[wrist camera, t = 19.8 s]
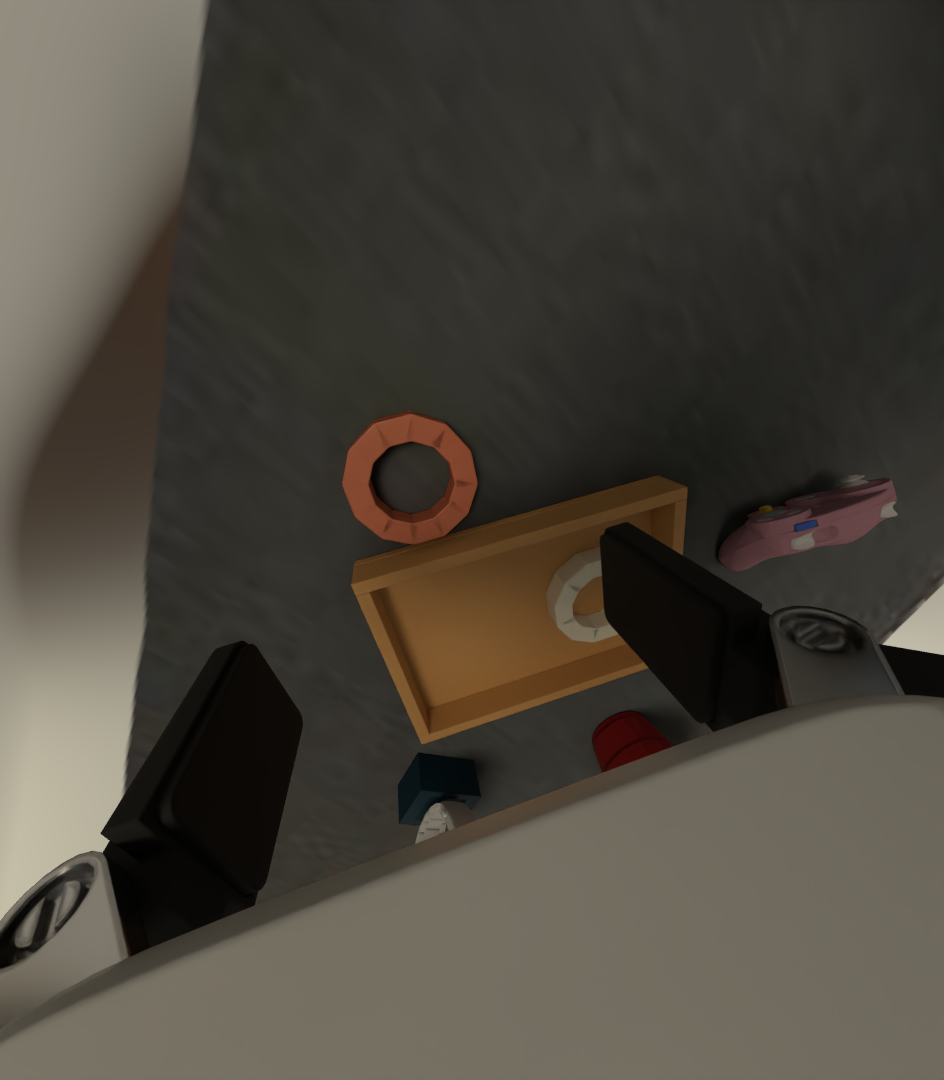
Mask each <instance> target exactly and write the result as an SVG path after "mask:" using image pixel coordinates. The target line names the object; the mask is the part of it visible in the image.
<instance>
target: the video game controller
mask: <svg viewBox="0 0 944 1080" xmlns="http://www.w3.org/2000/svg"><path fill="white" fill-rule="evenodd" d="M863 477H865V476H864V475H857V474H855V475H850V476H847V477H844V478H843V479H842V480H840V481H839V483H843V482H846V483H845V484H843V485H842V486H840V487H839V488H835V489H831V490H827V491H823V492H818V493H813V494H809V495H804V496H800V497H797V498H793V499H790V500H788V501H786V502H785V505H786V507H784V506H779V507H773V508H772V507H771V506H769V505H766V506H762V507H760V508H759V511H756V512H753V513H751V514H749V515H747V518H748V520H747V521H746V522H745V524H744V525H743V526H741V527H740V528H739V529H737V530H736V531H734V532H733V533H732V534H731V535H730V536H729V537H728V538H727V539H726V540H725V541H724V542H723V544H722V545H721V547H720V550H719V553H718V555H719V561H720V562H721V564H722V565H723V566H724V567H725V568H727V569H729V570H731V571H743V570H746V569H748V568H750V567H752V566H754V565H756V564H758V563H760V562H762V561H764V560H767V559H769V558H774V557H779V556H785V555H790V554H794V553H799V552H803V551H806V550H810V549H813V548H817V547H821V546H832V545H841V544H846V543H850V542H853V541H854V540H856V539H858V538H860V537H862V536H863V535H865V534H866V533H868V532H869V531H870V529H871V528H873V527H875V526H876V525H877V524H878V523H879V522H881V521H883V520H885V519H886V518H888V517H893V516H897V515H898V514H897V513H896V512H895V511H894V509H893V508H894V505H895V503H896V500H897V497H896V494H895V489H894V486H893V483H892V480H891V479H889V478H884V479H875V480H869V481H866V480H858V479H861V478H863Z"/></svg>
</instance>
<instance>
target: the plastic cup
mask: <svg viewBox="0 0 944 1080" xmlns="http://www.w3.org/2000/svg"><path fill="white" fill-rule="evenodd" d="M592 742H593V745H594V751H595V753H596V756H597V759H598V761H599V764H600V767H601V769H602V772H606V771H609V770H612V769H614V768H617V767H620V766H622V765H625V764H628V763H630V762H633V761H636V760H638V759H641V758H644V757H646V756H649V755H652V754H654V753H657V752H660V751H662V750H665V749H668V748H671V747H673V746H674V745H673V744H672V743H671V742H670V741H668V740H667V739H666V738H665V737H664V736H663V735H662V734H661V733H660V732H659V731H658V730H657V729H656V728H655V727H654V726H653V725H652V724H651V723H650V722H649V721H648V720H647V719H645V718H644V717H643V716H642V715H640V714H639V713H637V712H629V711H628V712H623V713H618V714H616V715H614V716H612V717H610V718H608V719H607V720H605V721H604V722H603V723H602V724H601V725H599V727H598V728H597V730H596V731H595V733H594V734H593V740H592Z"/></svg>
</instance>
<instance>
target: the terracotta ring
mask: <svg viewBox="0 0 944 1080" xmlns="http://www.w3.org/2000/svg"><path fill="white" fill-rule="evenodd" d="M410 441H413V442H416V443H420V444H424V445H427V446H431V447H434V448H435V449H436V450H437V451H438V452H439V453H440V454H441V455H442V456H443V457H444V458H445V459H446V462H447V466H448V470H449V474H450V479H449V482H448V486H447V489H446V493H445V496H443V497H442V498H441V499H440V500H439V501H438V502H437V503H436V504H435V505H434V506H433V507H432V508H431V509H428V510H425V511H421V512H417V513H414V514H410V513H405V512H401V511H396V510H392V509H391V508H390V507H388V506H387V505H386V504H385V503H384V502H383V501H381V500H380V499H379V498H378V497H377V496H376V493H375V490H374V487H373V484H372V481H371V479H370V477H371V472H372V468H373V463H374V462H375V461H376V460H377V459H378V458H379V457H380V456H381V455H382V454H383V453H384V452H385V451H386V450H387V449H388V448H389V447H391V446H395V445H398V444H402V443H406V442H410ZM477 483H478V481H477V477H476V472H475V467H474V462H473V458H472V453H471V451H470V449H469V448H468V447H467V446H466V445H465V444H464V443H463V441H462V440H461V439H460V438H459V437H458V436H457V435H456V434H455V433H454V432H453V430H452V429H451V428H450V427H449V426H448V425H447V424H446V423H445V422H443V421H442V420H439V419H436V418H433V417H429V416H426V415H423V414H420V413H416V412H413V411H405V412H401V413H397V414H393V415H389V416H385V417H381V418H377V419H376V420H374V421H373V422H372V423H371V424H370V425H369V426H368V427H367V428H366V429H365V430H364V431H363V432H362V433H361V434H360V435H359V436H358V438H357V439H356V440H355V441H354V442H353V443H352V444H351V446H350V448H349V450H348V455H347V460H346V466H345V471H344V477H343V482H342V485H343V488H344V491H345V494H346V496H347V499H348V501H349V504H350V506H351V509H352V511H353V514H354V516H355V517H356V518H357V519H358V520H359V521H360V522H362V523H363V524H364V525H365V526H367V527H368V528H369V529H370V530H372V531H373V532H374V533H375V534H377V535H378V536H379V537H380V538H382V539H387V540H392V541H397V542H402V543H407V544H412V545H414V544H418V543H422V542H425V541H429V540H432V539H436V538H439V537H443V536H445V535H446V534H447V533H448V532H450V531H451V530H452V529H453V528H454V527H455V526H456V525H457V524H458V523H459V522H460V521H461V520H462V519H463V518H464V517H466V516H467V514H468V513H469V510H470V507H471V504H472V501H473V497H474V494H475V491H476V488H477V485H478V484H477Z"/></svg>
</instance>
